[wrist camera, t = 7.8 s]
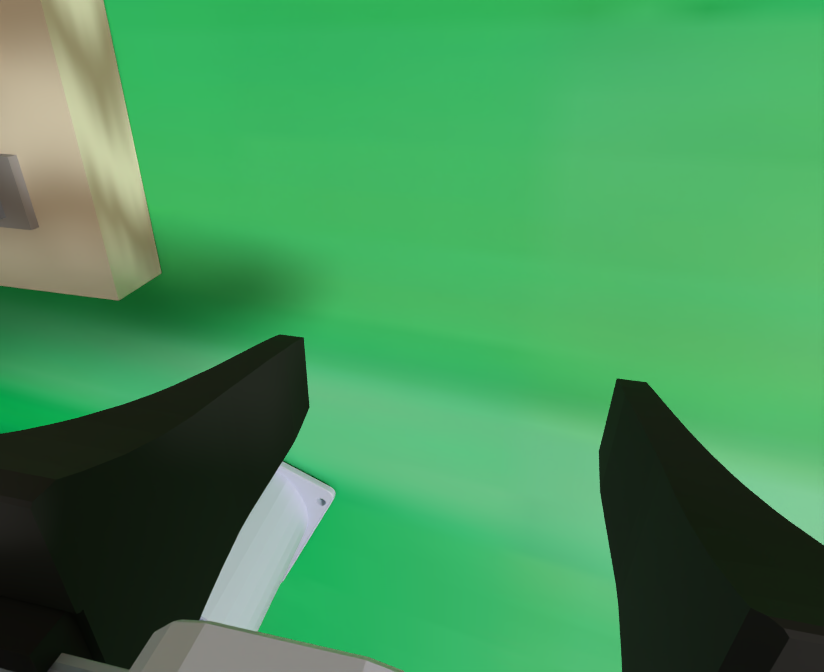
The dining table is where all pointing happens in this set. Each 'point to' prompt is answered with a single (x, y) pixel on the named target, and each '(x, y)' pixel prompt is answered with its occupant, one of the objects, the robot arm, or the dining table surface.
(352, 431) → the dining table surface
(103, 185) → the display stand
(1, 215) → the grey long bar
